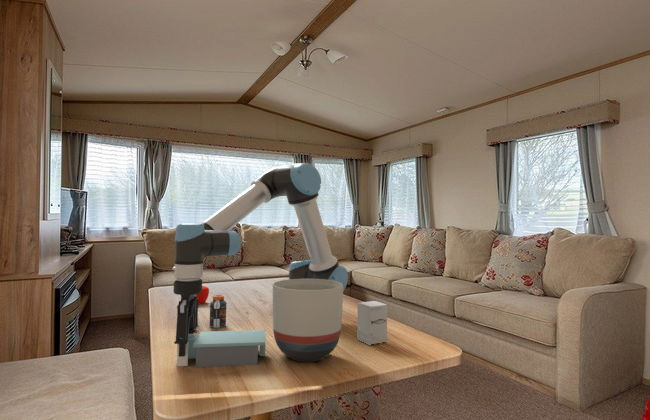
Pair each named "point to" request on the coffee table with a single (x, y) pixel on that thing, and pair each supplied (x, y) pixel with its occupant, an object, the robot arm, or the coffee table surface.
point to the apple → (203, 295)
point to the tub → (226, 356)
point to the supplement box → (372, 322)
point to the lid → (226, 340)
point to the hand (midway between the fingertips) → (185, 362)
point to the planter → (307, 317)
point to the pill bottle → (218, 311)
